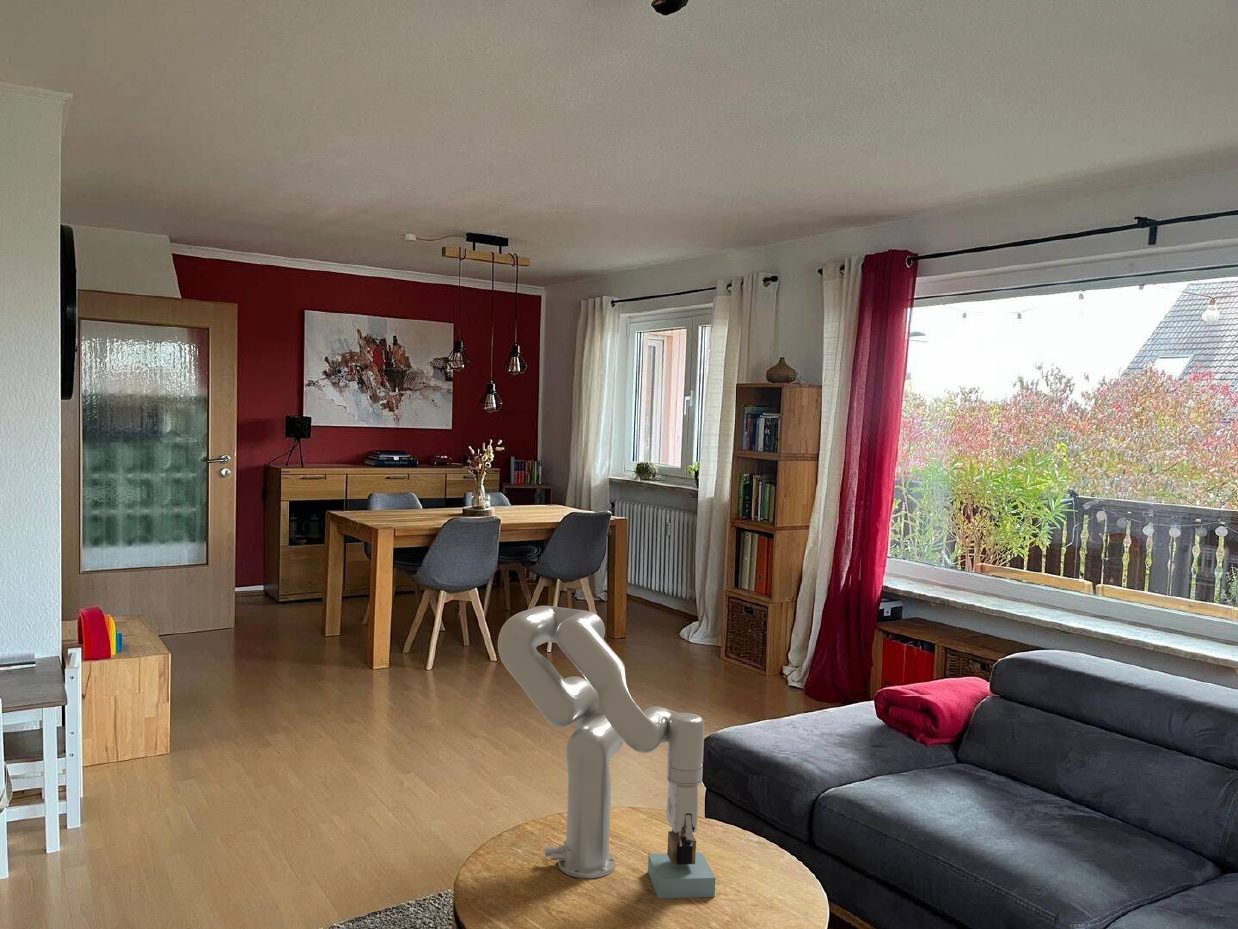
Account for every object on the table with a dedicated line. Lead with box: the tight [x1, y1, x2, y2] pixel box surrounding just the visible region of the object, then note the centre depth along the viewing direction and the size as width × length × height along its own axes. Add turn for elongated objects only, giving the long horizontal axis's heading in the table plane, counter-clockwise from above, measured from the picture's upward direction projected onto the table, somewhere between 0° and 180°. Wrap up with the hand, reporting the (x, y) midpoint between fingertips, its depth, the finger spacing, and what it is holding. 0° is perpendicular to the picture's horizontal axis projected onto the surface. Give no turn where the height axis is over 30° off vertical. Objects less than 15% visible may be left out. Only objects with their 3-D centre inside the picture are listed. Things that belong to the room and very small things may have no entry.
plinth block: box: [647, 852, 716, 900], centre depth 200 cm, size 12×12×4 cm
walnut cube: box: [667, 830, 697, 865], centre depth 200 cm, size 5×5×5 cm
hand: (681, 857), depth 200 cm, fingers closed on walnut cube, 5 cm apart
